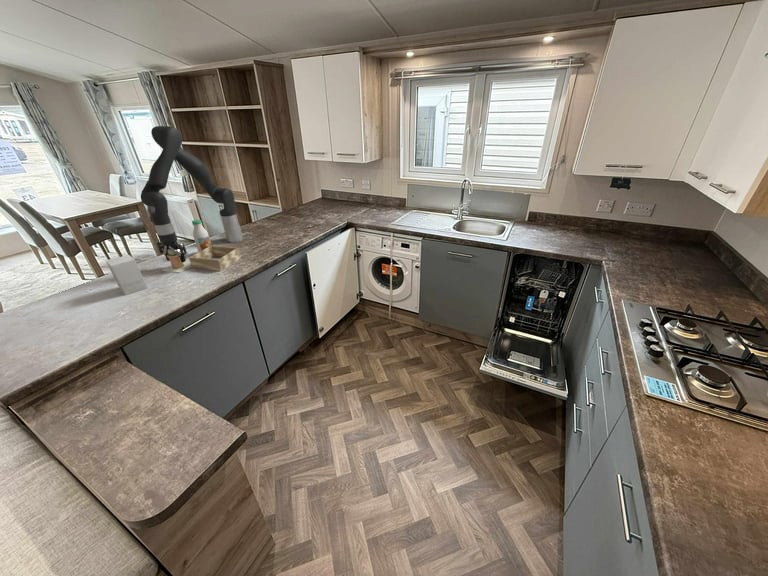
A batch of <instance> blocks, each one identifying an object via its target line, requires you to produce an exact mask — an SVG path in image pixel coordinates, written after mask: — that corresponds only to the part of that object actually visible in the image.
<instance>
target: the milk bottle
mask: <svg viewBox="0 0 768 576" xmlns="http://www.w3.org/2000/svg"><path fill="white" fill-rule="evenodd" d="M191 223H192V226H193V230H192V231H193V233H192V235H193V240H194V242H195V247H196V249H197V253H198V252H200V251H202V250H204V249H206V248H208V247H210V246H213V245H212V242H211V240H210V239H211V237H210V236H209V233H208V231H207V230H206V229H205V228H204V226H203V223H202V219H193V220H191Z"/></svg>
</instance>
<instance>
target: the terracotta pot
mask: <svg viewBox="0 0 768 576" xmlns="http://www.w3.org/2000/svg"><path fill="white" fill-rule="evenodd" d="M179 253H180V252H179ZM180 254H181V253H180ZM167 257H168V258H169V260H170V261H169V262H170V265H172V268H173V269H178V268H182V267H183V266H184V264H183V262H181V260H180V257H179V255H178V254H177V253H175V252H174V251H173V250H171V249H168V254H167Z"/></svg>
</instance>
